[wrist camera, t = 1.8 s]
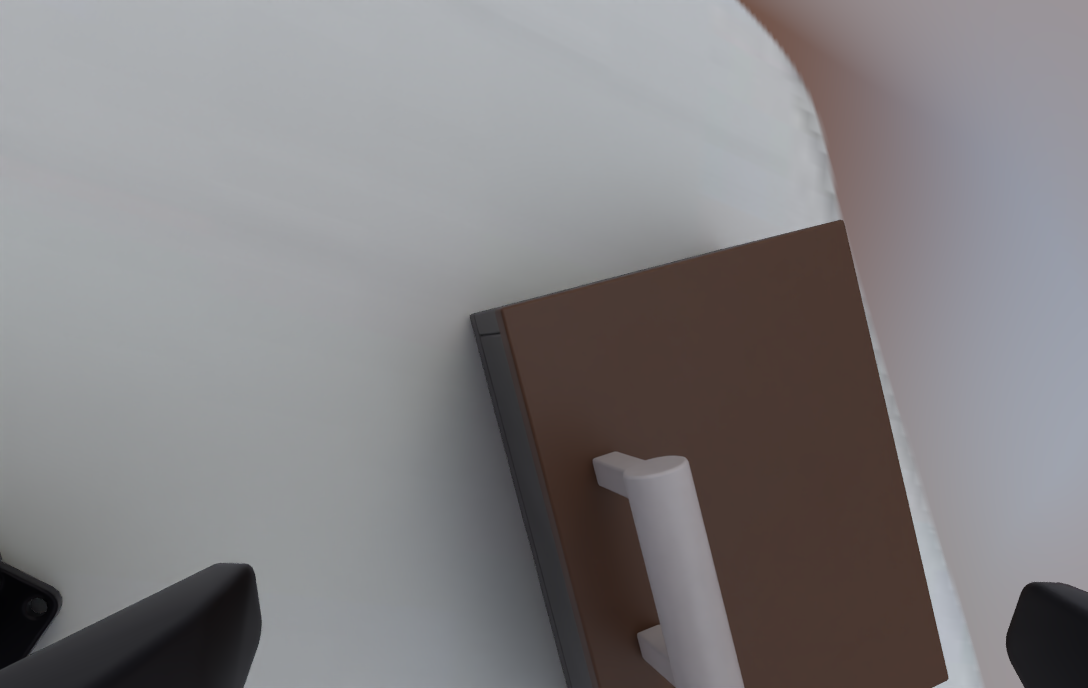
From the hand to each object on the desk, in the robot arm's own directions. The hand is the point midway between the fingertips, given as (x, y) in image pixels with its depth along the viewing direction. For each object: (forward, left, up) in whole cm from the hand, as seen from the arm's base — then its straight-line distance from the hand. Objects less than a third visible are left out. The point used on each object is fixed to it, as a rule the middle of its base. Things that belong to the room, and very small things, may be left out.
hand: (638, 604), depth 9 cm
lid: (+3, -7, -10) cm, 13 cm away
